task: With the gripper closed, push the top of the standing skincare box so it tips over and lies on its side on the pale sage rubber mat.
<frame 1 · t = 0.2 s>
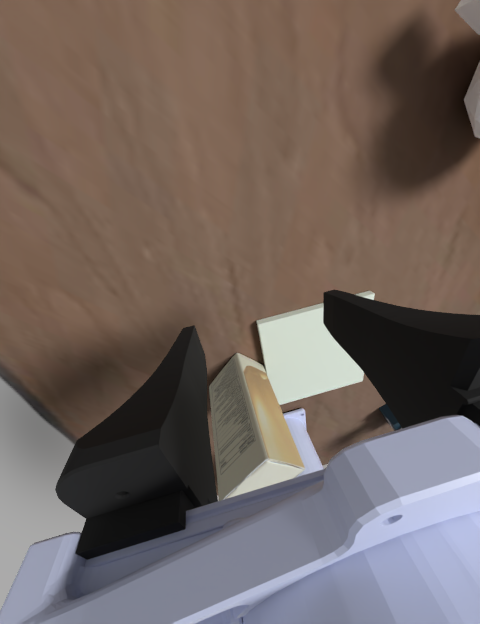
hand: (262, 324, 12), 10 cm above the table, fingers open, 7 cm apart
mat: (314, 352, 28), on the table
skincare box: (236, 373, 28), on the table
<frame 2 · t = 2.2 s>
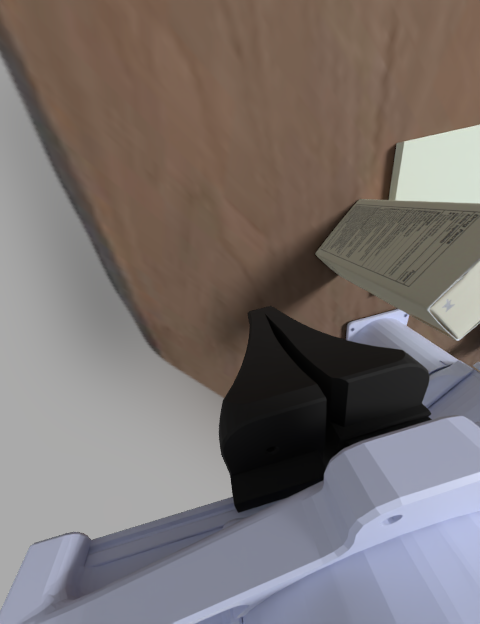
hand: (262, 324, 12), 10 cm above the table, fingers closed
mat: (445, 215, 22), on the table
skincare box: (348, 238, 22), on the table
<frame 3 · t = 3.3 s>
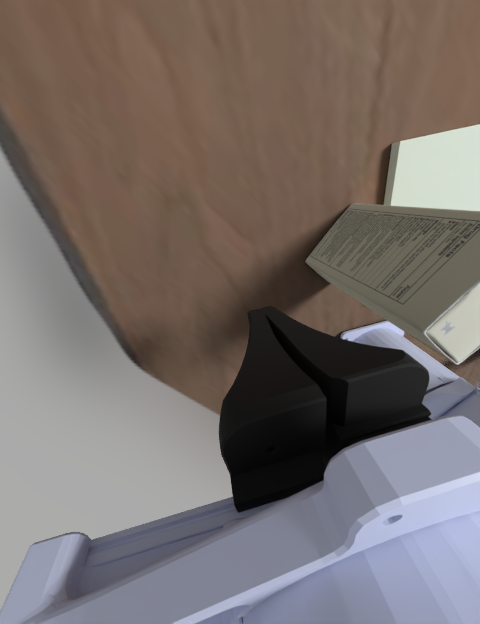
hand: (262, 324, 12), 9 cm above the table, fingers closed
mat: (444, 220, 21), on the table
skincare box: (340, 244, 21), on the table
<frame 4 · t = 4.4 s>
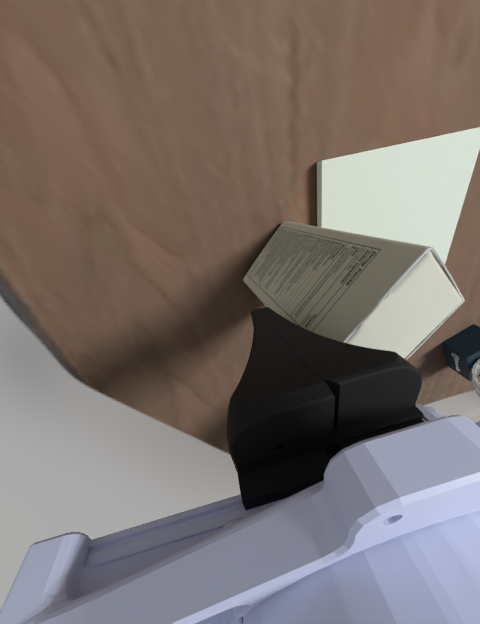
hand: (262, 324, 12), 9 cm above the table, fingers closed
mat: (384, 236, 21), on the table
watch: (457, 345, 31), on the table
skincare box: (279, 261, 20), on the table, touching gripper
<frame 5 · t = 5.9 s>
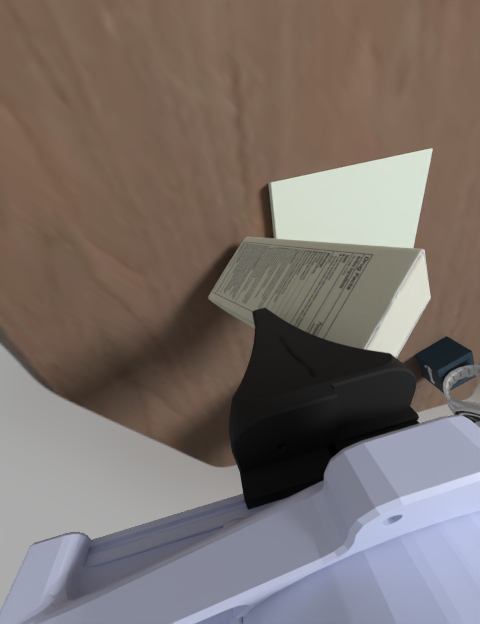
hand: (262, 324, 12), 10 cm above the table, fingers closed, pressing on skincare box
mat: (343, 252, 21), on the table
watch: (432, 357, 31), on the table
skincare box: (241, 277, 19), point 1 cm above the table, touching gripper, mat
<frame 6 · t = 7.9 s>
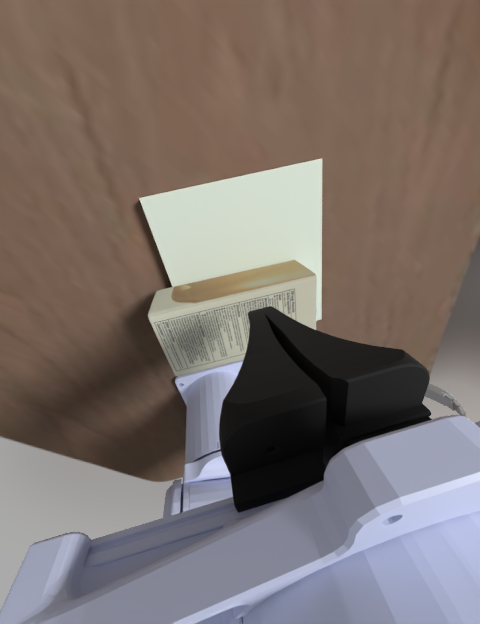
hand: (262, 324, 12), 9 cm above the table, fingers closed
mat: (247, 268, 20), on the table
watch: (369, 368, 30), on the table
skincare box: (161, 332, 18), point 3 cm above the table, touching mat
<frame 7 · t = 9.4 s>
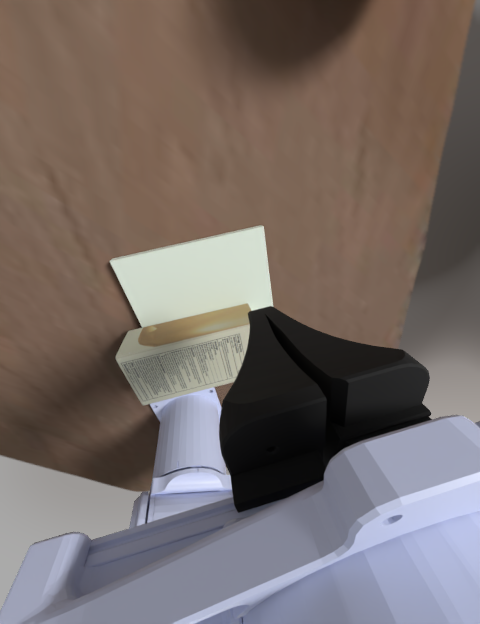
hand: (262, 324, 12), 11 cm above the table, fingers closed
mat: (208, 309, 23), on the table
skincare box: (131, 367, 21), point 3 cm above the table, touching mat
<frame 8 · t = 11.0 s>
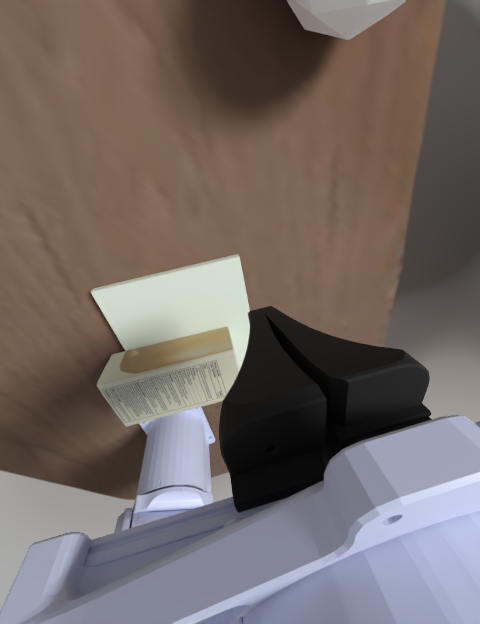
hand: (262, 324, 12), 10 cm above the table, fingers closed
mat: (190, 332, 24), on the table
skincare box: (114, 389, 22), point 3 cm above the table, touching mat
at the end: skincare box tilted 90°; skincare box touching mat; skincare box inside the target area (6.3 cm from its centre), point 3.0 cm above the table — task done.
